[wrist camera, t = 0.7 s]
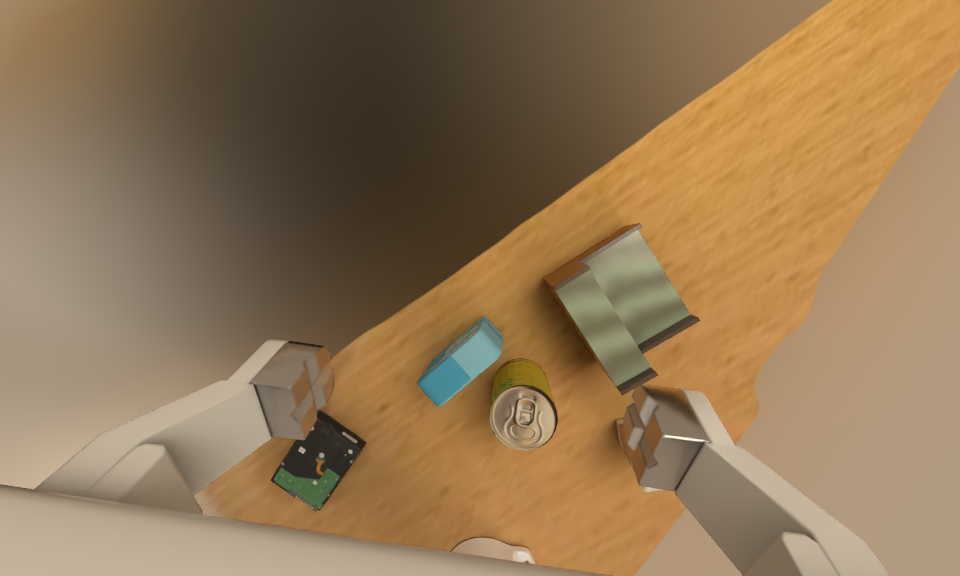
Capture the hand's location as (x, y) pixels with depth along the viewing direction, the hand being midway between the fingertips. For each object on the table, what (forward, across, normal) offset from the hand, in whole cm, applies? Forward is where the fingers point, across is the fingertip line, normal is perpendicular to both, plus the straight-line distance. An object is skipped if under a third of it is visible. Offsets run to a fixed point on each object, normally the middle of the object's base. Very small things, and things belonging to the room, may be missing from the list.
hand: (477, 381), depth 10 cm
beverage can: (+38, +6, -36) cm, 53 cm away
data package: (+40, -4, -32) cm, 51 cm away
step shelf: (+44, +18, -21) cm, 52 cm away
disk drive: (+31, -28, -53) cm, 67 cm away
